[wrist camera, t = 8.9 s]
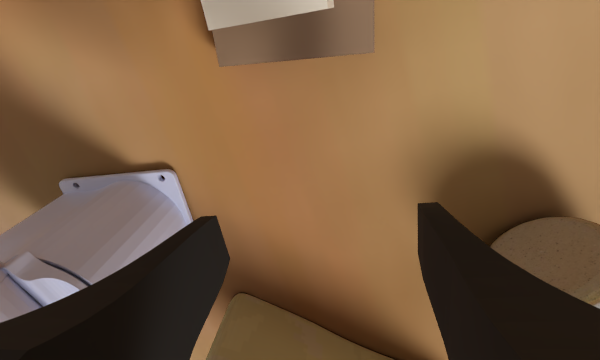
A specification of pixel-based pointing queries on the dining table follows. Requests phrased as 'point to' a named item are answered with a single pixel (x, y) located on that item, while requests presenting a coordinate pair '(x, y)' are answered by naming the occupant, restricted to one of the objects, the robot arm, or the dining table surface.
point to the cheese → (278, 336)
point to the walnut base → (300, 35)
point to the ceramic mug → (557, 254)
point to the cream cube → (256, 10)
